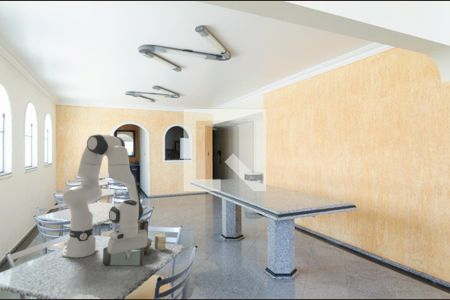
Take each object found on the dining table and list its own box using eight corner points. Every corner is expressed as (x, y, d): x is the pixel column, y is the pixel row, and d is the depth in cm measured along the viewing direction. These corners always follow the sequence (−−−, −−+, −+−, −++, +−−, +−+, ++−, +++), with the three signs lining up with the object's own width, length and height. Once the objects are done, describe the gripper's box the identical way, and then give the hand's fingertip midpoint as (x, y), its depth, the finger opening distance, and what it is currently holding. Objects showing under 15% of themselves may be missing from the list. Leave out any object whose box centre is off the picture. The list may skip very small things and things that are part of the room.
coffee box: (141, 244, 181) (142, 219, 181) (147, 246, 177) (148, 220, 177) (129, 247, 173) (130, 221, 173) (135, 249, 169) (136, 223, 170)
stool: (118, 253, 162) (119, 239, 162) (145, 249, 171) (145, 235, 172) (127, 262, 149) (127, 247, 149) (155, 257, 159) (156, 243, 159)
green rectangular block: (101, 265, 144) (102, 249, 144) (104, 262, 148) (105, 247, 148) (141, 265, 145) (142, 250, 145) (143, 262, 149) (144, 247, 149)
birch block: (154, 248, 173) (155, 235, 174) (161, 246, 176) (162, 234, 177) (157, 250, 169) (158, 237, 170) (165, 249, 172) (165, 236, 173)
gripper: (144, 227, 154) (143, 253, 153) (106, 234, 139) (105, 261, 139) (150, 230, 149) (148, 256, 149) (112, 237, 135) (110, 265, 134)
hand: (127, 259), depth 144 cm, fingers closed
